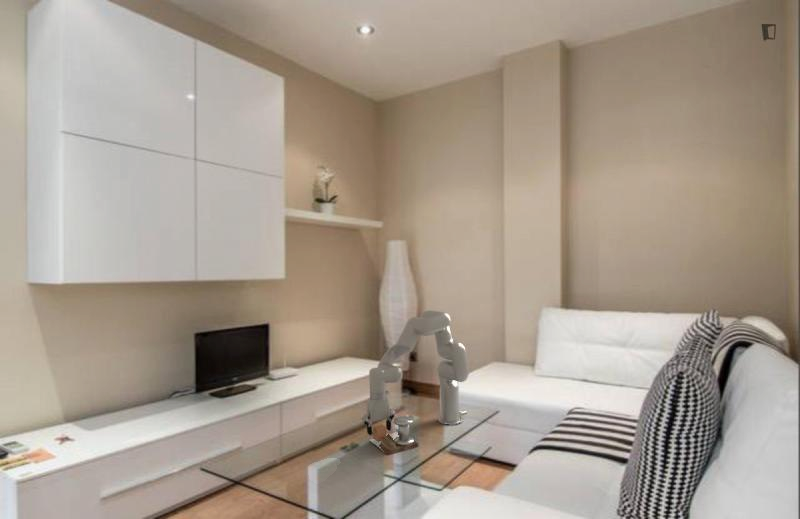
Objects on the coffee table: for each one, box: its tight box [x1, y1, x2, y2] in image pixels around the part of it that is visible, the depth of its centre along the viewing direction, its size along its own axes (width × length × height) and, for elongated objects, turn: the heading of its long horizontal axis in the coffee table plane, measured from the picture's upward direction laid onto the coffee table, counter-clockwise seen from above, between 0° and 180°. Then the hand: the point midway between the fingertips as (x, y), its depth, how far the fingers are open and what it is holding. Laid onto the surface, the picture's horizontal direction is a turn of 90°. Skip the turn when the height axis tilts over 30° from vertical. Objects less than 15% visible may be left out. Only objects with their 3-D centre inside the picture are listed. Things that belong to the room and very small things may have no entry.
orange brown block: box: [372, 424, 387, 442], centre depth 207 cm, size 4×4×6 cm
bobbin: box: [393, 415, 415, 446], centre depth 204 cm, size 9×9×10 cm
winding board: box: [371, 431, 419, 456], centre depth 206 cm, size 16×18×4 cm
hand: (379, 432), depth 207 cm, fingers open, 9 cm apart
